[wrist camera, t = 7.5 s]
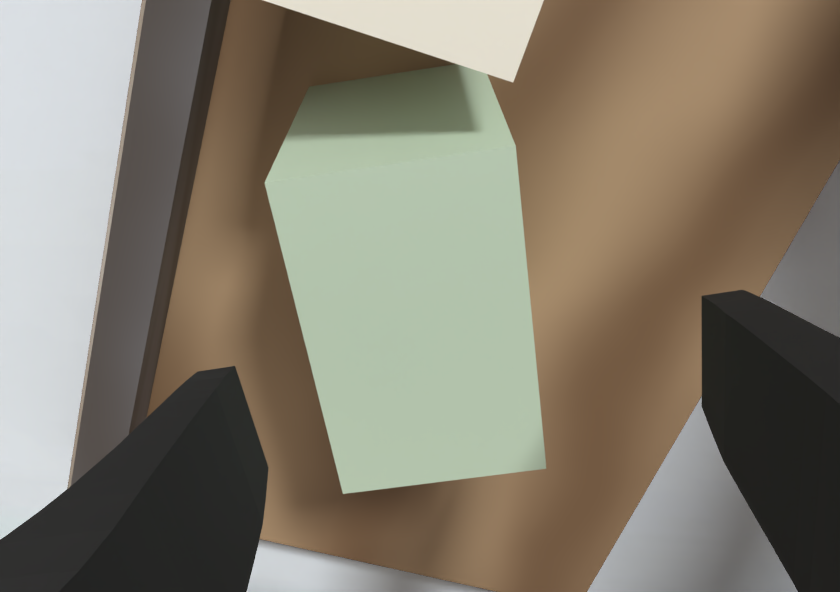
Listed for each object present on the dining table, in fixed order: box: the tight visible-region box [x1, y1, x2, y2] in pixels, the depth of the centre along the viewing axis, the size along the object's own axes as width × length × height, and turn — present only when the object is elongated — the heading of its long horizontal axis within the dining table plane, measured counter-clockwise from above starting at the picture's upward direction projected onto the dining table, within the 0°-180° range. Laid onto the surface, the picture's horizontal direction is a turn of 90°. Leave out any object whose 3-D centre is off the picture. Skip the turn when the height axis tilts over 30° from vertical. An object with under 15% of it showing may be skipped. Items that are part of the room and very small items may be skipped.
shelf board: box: [67, 0, 840, 592], centre depth 20 cm, size 16×24×4 cm
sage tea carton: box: [265, 64, 546, 494], centre depth 17 cm, size 4×6×6 cm, turn 8°
